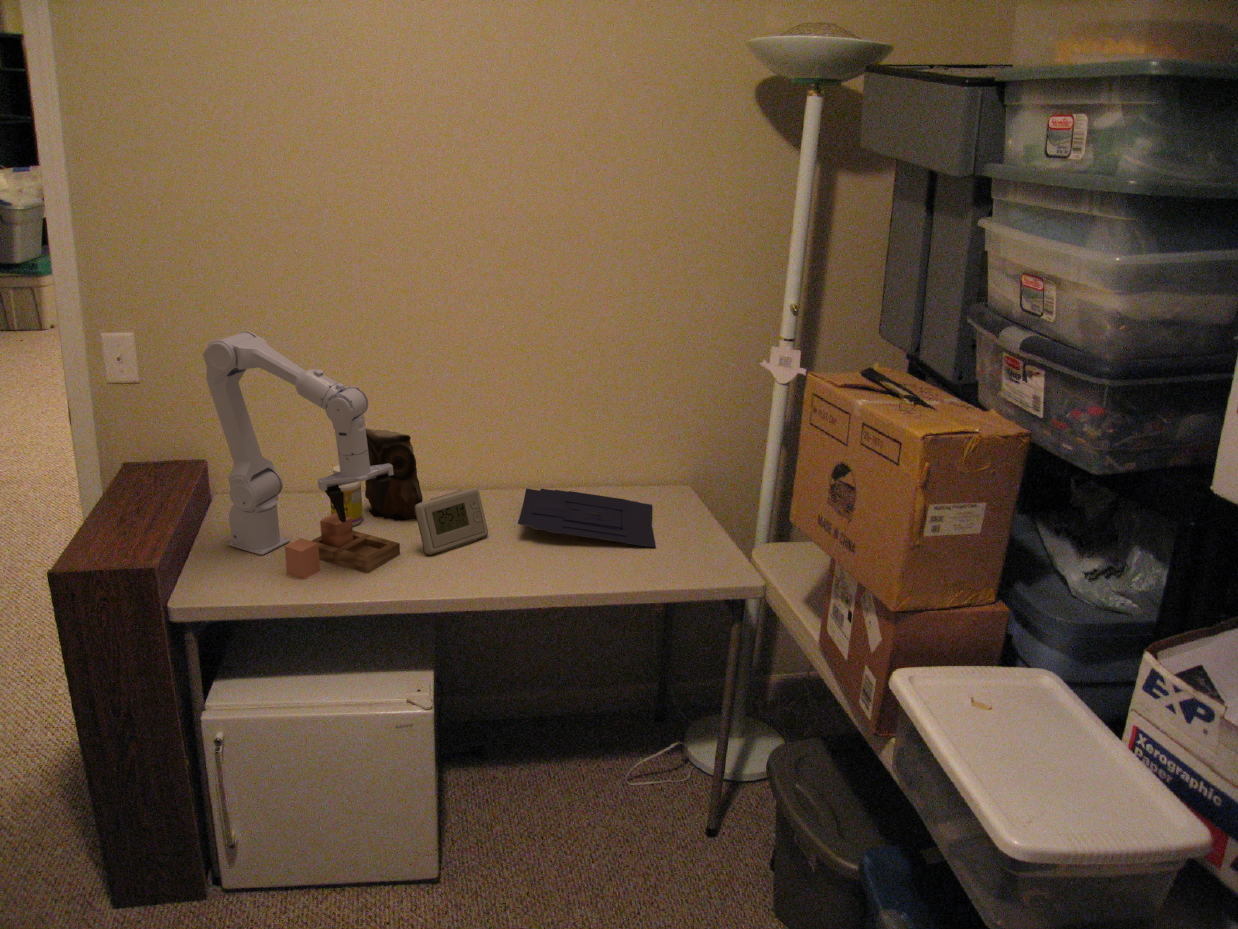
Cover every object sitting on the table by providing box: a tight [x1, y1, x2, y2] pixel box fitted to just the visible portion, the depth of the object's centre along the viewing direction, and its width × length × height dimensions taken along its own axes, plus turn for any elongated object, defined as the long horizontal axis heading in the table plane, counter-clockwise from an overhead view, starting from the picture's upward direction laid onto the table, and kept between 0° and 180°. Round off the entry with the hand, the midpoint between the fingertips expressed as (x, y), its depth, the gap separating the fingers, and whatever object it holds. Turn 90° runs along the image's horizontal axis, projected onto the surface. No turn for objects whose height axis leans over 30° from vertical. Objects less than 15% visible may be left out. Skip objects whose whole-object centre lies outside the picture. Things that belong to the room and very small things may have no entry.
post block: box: [284, 538, 321, 580], centre depth 188 cm, size 4×4×6 cm
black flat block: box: [517, 487, 657, 548], centre depth 216 cm, size 24×30×4 cm
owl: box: [364, 427, 424, 522], centre depth 214 cm, size 13×13×20 cm
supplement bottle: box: [329, 464, 363, 527], centre depth 210 cm, size 7×7×13 cm
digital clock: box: [415, 487, 489, 556], centre depth 203 cm, size 16×9×11 cm, turn 123°
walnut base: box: [311, 513, 401, 574], centre depth 196 cm, size 16×10×7 cm, turn 64°
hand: (361, 516), depth 190 cm, fingers open, 7 cm apart
